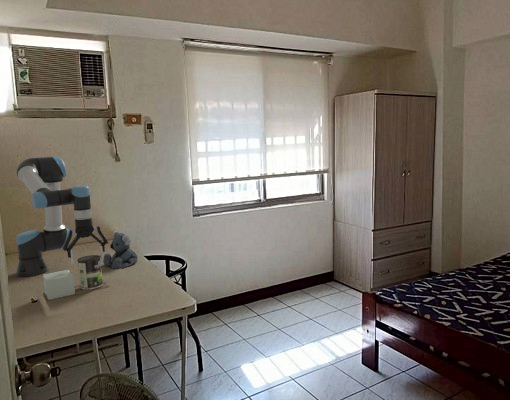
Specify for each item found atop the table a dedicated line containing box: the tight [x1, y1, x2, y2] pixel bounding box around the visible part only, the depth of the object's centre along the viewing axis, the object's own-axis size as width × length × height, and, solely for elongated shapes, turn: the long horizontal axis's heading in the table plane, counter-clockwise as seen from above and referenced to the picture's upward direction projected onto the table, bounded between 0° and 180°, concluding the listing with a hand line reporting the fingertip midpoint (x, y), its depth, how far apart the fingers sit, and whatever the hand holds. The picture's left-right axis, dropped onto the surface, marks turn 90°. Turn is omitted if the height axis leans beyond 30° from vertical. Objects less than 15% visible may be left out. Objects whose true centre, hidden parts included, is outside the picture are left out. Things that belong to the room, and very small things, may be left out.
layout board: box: [43, 280, 110, 302], centre depth 193 cm, size 13×27×2 cm, turn 124°
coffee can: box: [76, 254, 104, 290], centre depth 195 cm, size 10×10×14 cm
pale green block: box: [42, 269, 75, 301], centre depth 188 cm, size 11×11×9 cm
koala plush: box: [102, 230, 139, 270], centre depth 237 cm, size 17×18×20 cm
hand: (87, 261), depth 197 cm, fingers open, 13 cm apart
